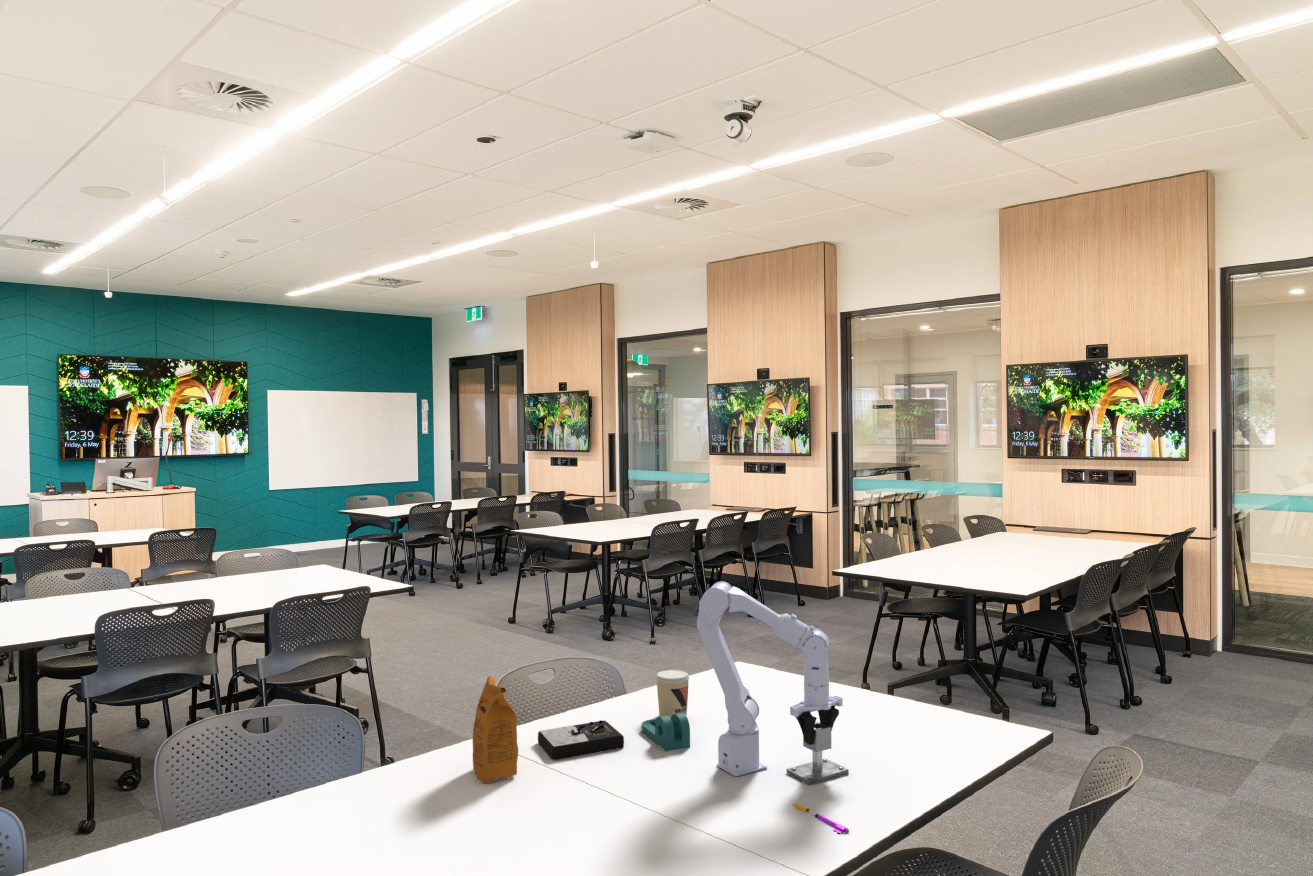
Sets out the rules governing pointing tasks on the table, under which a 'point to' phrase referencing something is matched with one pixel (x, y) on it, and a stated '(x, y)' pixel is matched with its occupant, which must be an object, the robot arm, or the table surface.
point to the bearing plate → (817, 770)
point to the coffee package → (494, 735)
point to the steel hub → (820, 738)
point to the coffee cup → (672, 692)
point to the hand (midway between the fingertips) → (817, 741)
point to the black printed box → (580, 740)
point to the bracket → (668, 731)
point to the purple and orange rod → (824, 819)
